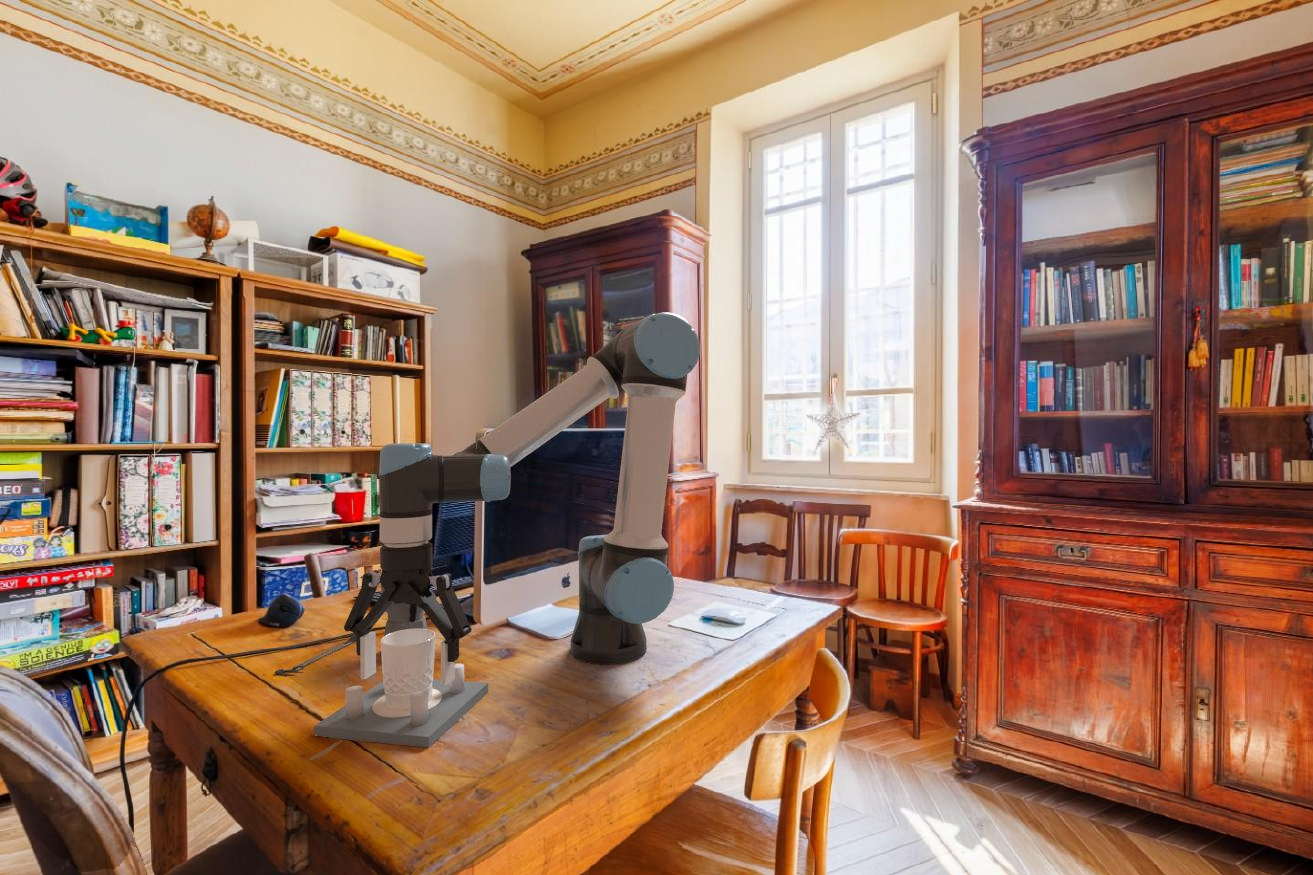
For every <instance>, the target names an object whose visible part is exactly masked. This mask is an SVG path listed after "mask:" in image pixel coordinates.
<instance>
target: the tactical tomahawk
mask: <svg viewBox="0 0 1313 875" xmlns="http://www.w3.org/2000/svg"><path fill="white" fill-rule="evenodd" d="M355 642H356V635H355V634H353V635H351V636H350V637H349V638H348V639H347V640H346V641H345V642H343V643H338V644H337V645H334V646H332V647H330V648H328V649H327V650H324V651H322V652H319V653H318V654H317V655H314V656H313V657H310V658H308V659H307V660H305V661H303V662H300V663H299V664H296V665H295V666H293V667H292V668H290V669H282V668H279V669H276V670H275V671H274V675H275V674H276V675H275V676H282V675H284V676H283V677H287V676H296V677H297V675H295V674H303V673H305V671H302V670H305V667H308V666H309V665H312V664H313V662H314V663H315V662H317V661H320V660H321V658H322V659H324V658H326V657H328V656H329V654H330V655H332V654H334V653H336V652H337V651H340V650H341V649H344V648H346V647H348V646H350V645H352V644H354V643H355ZM333 652H334V653H333ZM331 653H332V654H331ZM327 655H328V656H327ZM325 656H326V657H325ZM323 657H324V658H323ZM311 663H312V664H311ZM291 673H295V674H291Z"/></svg>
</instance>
